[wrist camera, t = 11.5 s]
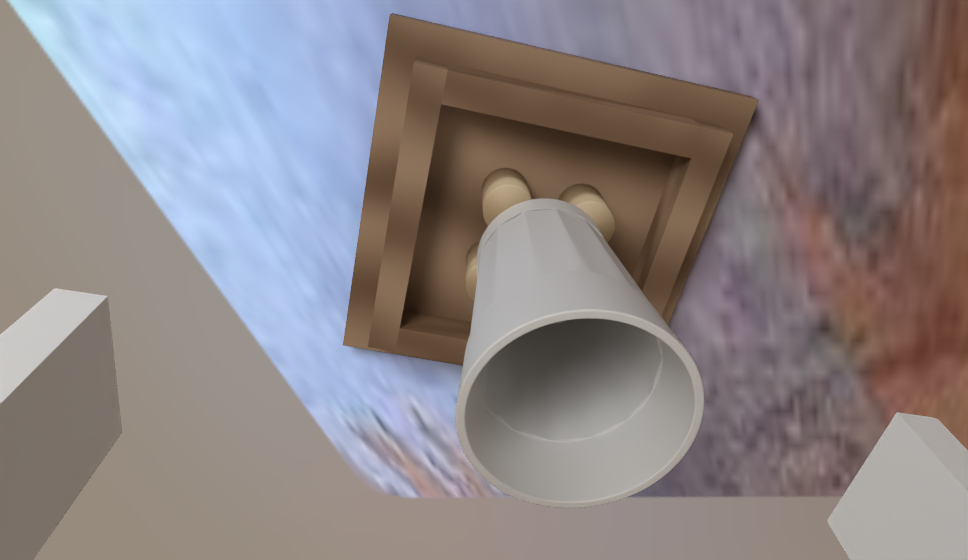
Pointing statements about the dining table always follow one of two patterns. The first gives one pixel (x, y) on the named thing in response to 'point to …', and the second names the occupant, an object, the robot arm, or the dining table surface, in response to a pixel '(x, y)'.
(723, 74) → the dining table surface
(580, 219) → the cup
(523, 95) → the peg stand
